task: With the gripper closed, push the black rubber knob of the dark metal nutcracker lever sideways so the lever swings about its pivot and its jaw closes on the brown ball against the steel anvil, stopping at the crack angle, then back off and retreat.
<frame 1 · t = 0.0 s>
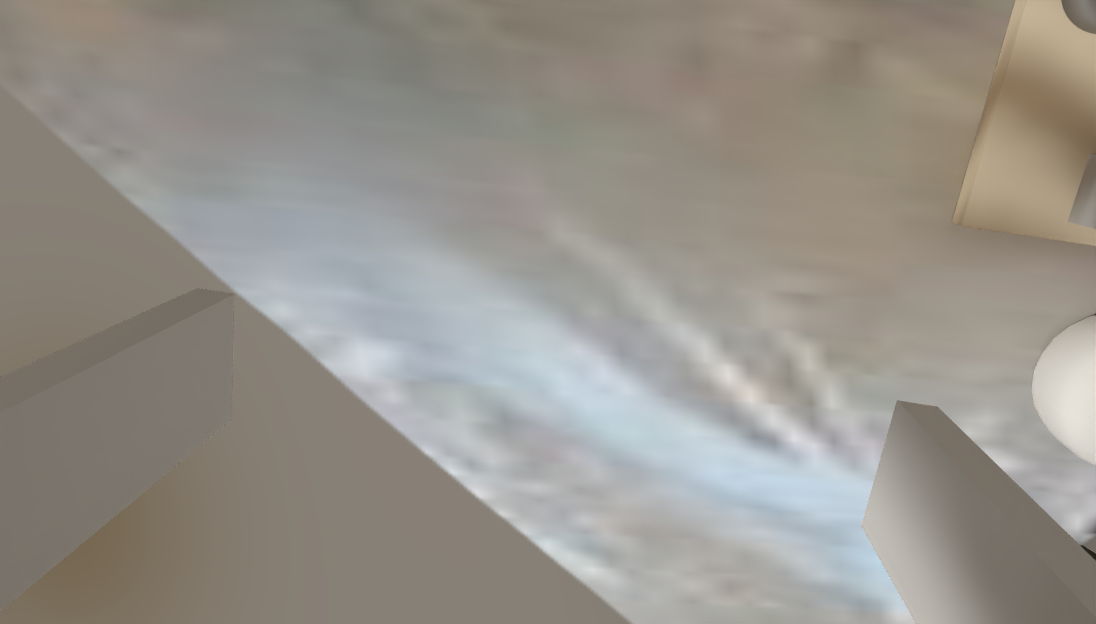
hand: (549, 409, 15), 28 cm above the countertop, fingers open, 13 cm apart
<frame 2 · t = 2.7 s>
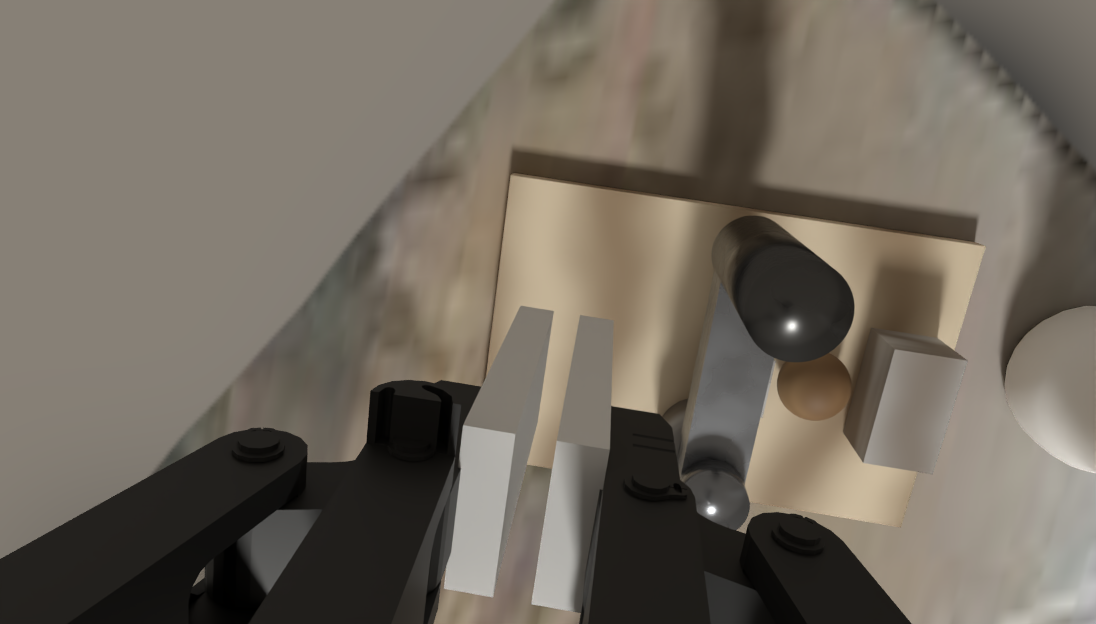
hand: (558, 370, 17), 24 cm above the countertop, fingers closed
lever: (741, 392, 34), point 8 cm above the countertop, hinge at 0.0°
bottle: (1073, 371, 41), on the countertop
board: (710, 351, 42), on the countertop
brown ball: (805, 372, 41), point 1 cm above the countertop, touching board
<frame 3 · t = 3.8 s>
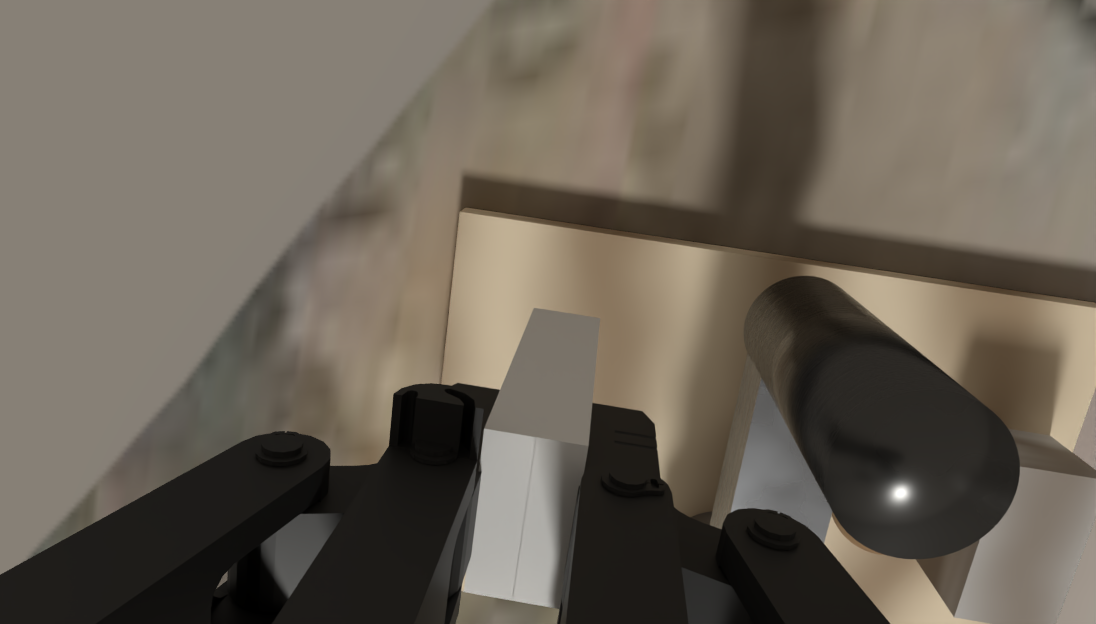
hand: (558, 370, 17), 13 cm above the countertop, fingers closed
lever: (792, 541, 23), point 8 cm above the countertop, hinge at 0.0°
board: (735, 446, 31), on the countertop
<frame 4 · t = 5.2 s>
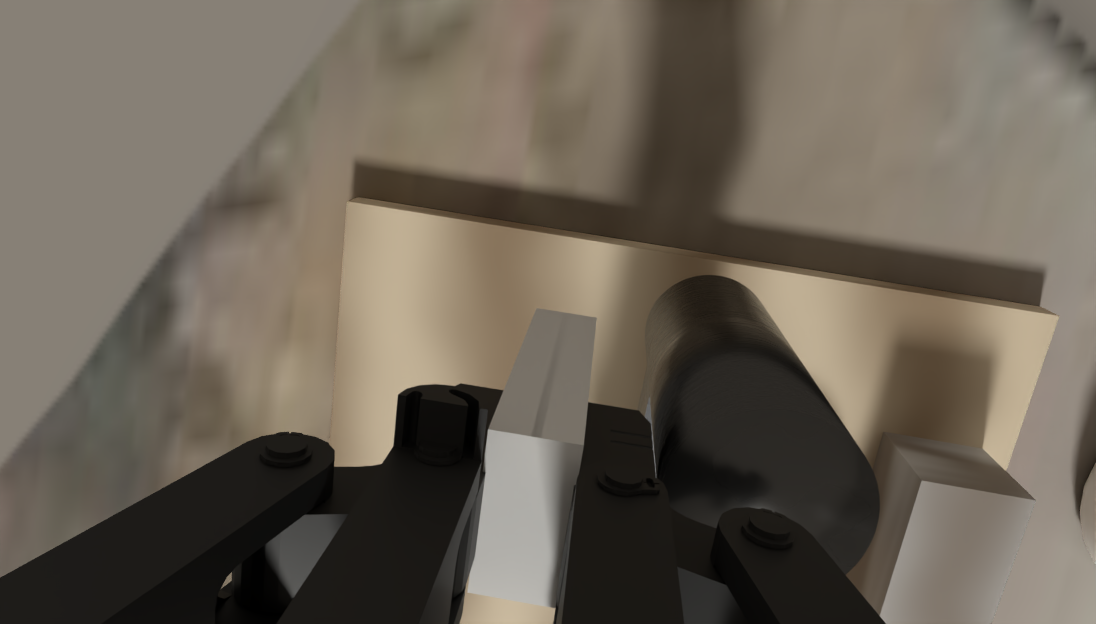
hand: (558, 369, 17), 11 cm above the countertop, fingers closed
lever: (680, 565, 21), point 8 cm above the countertop, hinge at 1.7°, touching gripper
board: (650, 455, 29), on the countertop
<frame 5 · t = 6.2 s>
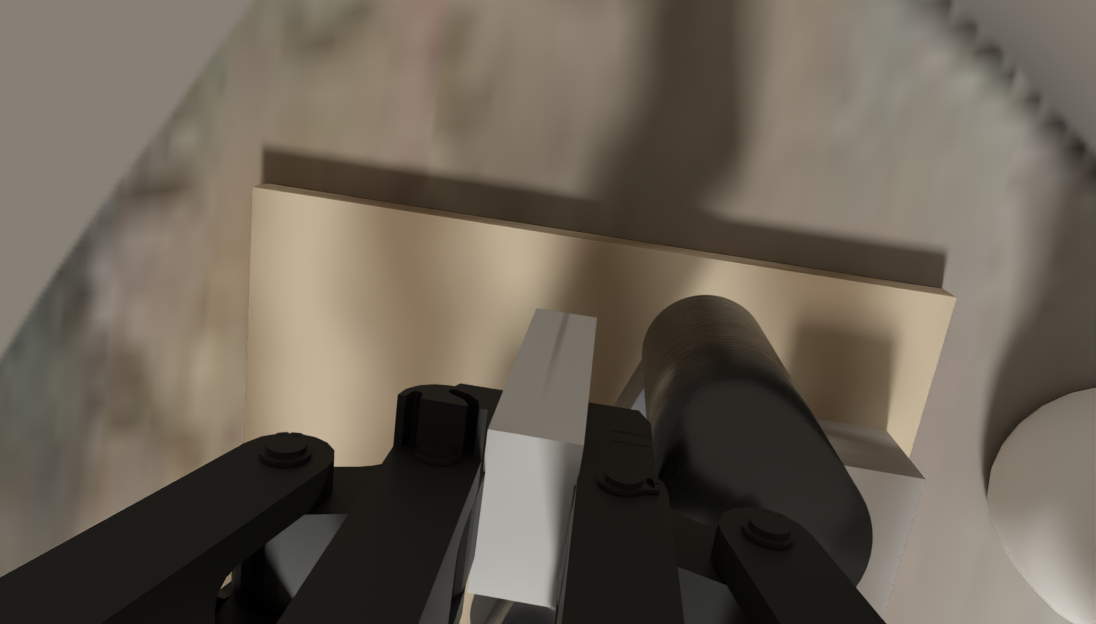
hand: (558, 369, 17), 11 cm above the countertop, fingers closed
lever: (617, 565, 21), point 8 cm above the countertop, hinge at 19.5°, touching gripper, brown ball
bottle: (1089, 476, 28), on the countertop
board: (564, 440, 29), on the countertop
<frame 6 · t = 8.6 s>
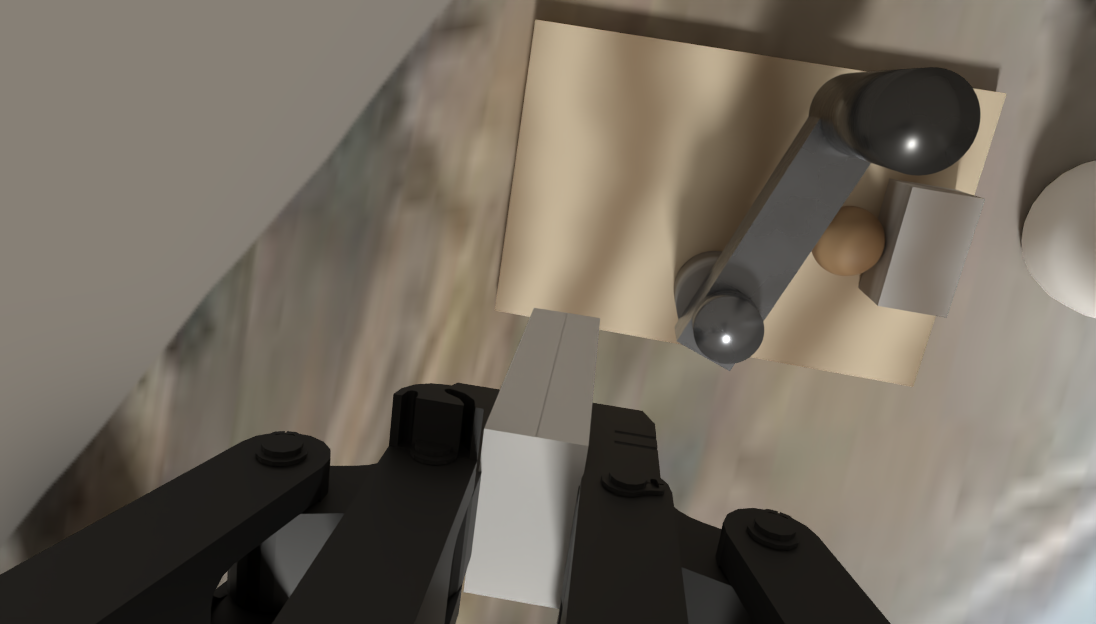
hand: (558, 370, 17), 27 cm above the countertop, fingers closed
lever: (798, 231, 34), point 8 cm above the countertop, hinge at 19.8°, touching brown ball
bottle: (1091, 229, 41), on the countertop
board: (728, 206, 43), on the countertop
brown ball: (824, 227, 41), point 1 cm above the countertop, tilted 30°, touching board, lever
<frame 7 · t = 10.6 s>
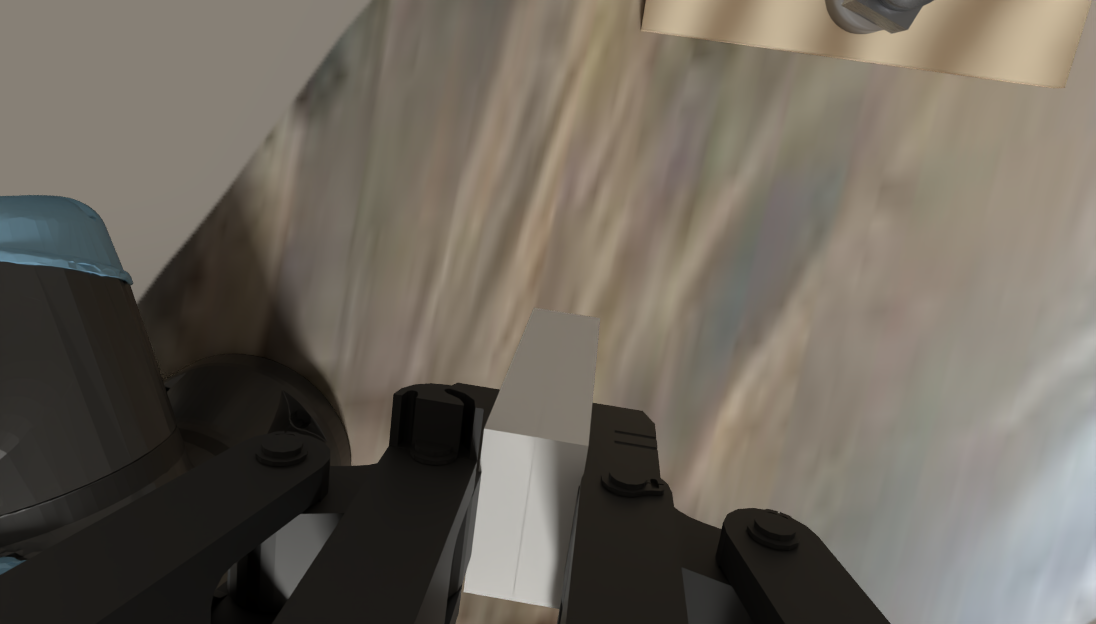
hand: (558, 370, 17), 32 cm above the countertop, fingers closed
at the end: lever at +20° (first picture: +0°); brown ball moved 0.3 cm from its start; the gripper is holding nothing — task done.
